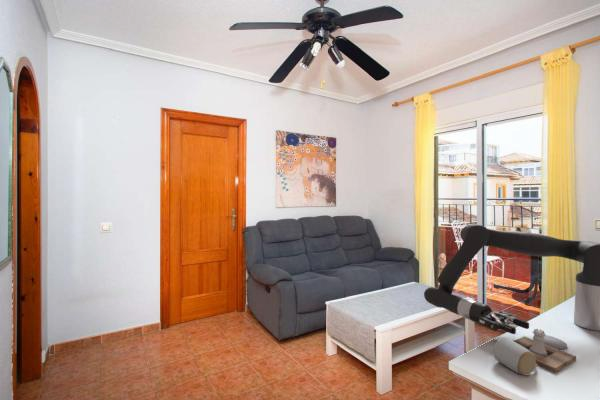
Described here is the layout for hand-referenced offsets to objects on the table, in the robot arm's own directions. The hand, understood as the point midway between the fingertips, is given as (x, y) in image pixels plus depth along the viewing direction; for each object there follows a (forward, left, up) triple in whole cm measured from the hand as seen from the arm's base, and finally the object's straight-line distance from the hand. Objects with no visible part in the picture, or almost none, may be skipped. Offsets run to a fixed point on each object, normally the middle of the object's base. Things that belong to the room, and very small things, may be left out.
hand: (522, 328), depth 99 cm
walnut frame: (0, +5, -7) cm, 8 cm away
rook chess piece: (0, +5, -7) cm, 8 cm away
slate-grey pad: (-13, +3, -7) cm, 15 cm away
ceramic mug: (+14, +5, -7) cm, 16 cm away
